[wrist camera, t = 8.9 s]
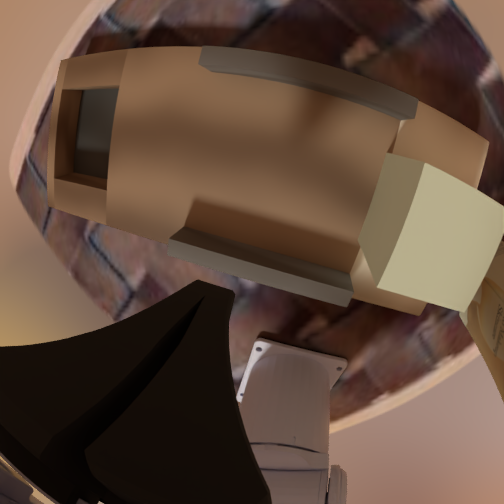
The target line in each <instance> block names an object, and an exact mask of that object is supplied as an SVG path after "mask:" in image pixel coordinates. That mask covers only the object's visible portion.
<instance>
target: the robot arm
mask: <svg viewBox="0 0 504 504" xmlns="http://www.w3.org/2000/svg"><path fill="white" fill-rule="evenodd" d="M234 298H235V293H234V292H233V290H229V289H226V288H223V287H220V286H216V285H213V284H210V283H207V282H204V281H201V280H196V281H194V282H192V283H191V284H189V285H187V286H186V287H184V288H182V289H181V290H179V291H177V292H175V293H174V294H172V295H170V296H169V297H167V298H165V299H163V300H162V301H160V302H158V303H156V304H154V305H153V306H151V307H149V308H147V309H145V310H143V311H141V312H139V313H137V314H135V315H133V316H130V317H128V318H126V319H124V320H122V321H119V322H117V323H114V324H112V325H109V326H106V327H104V328H101V329H98V330H96V331H92V332H88V333H85V334H81V335H78V336H74V337H71V338H67V339H62V340H57V341H52V342H46V343H41V344H33V345H24V346H5V347H0V456H1V457H2V458H3V459H4V460H5V461H6V462H7V463H8V464H9V465H10V466H11V467H12V468H13V469H14V470H15V471H14V470H13V469H12V468H11V467H10V466H8V465H7V464H6V463H4V462H3V461H2V460H1V459H0V504H43V503H42V502H41V501H39V500H38V499H37V498H35V497H34V496H33V495H31V494H32V493H33V488H32V487H31V486H30V485H29V484H28V483H27V482H29V483H30V484H31V485H32V486H33V487H34V488H36V489H37V490H38V491H39V492H41V493H42V494H43V495H44V496H46V497H47V498H48V499H50V500H51V501H52V502H54V503H55V504H98V502H99V501H100V502H102V503H104V504H346V495H347V474H346V472H345V471H344V470H343V469H340V466H339V465H331V473H330V478H329V484H328V492H327V483H328V469H329V468H328V466H329V454H328V446H329V420H330V390H331V388H332V387H333V385H334V384H335V383H336V381H337V380H338V378H339V377H340V375H341V374H342V373H343V371H344V370H345V368H346V367H347V360H346V359H344V358H340V357H335V356H331V355H326V354H322V353H318V352H313V351H309V350H305V349H301V348H297V347H293V346H289V345H286V344H282V343H278V342H274V341H271V340H267V339H264V338H257V339H256V340H255V343H254V346H253V349H252V352H251V355H250V358H249V361H248V364H247V367H246V370H245V373H244V376H243V379H242V382H241V384H240V387H239V390H238V393H237V396H236V393H235V389H234V383H233V377H232V371H231V363H230V352H229V320H230V315H231V311H232V306H233V302H234ZM257 347H260V348H257ZM337 367H340V368H337ZM237 401H238V402H241V405H240V408H239V406H238V403H237ZM17 472H18V473H19V474H20V475H21V476H20V475H19V474H18V473H17ZM26 481H27V482H26Z"/></svg>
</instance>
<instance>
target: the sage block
mask: <svg viewBox="0 0 504 504" xmlns="http://www.w3.org/2000/svg"><path fill="white" fill-rule="evenodd" d="M503 234H504V206H502V205H501V204H499V203H498V202H496V201H494V200H493V199H491V198H490V197H488V196H486V195H485V194H483V193H482V192H480V191H478V190H476V189H475V188H473V187H471V186H470V185H468V184H466V183H464V182H462V181H461V180H459V179H457V178H455V177H453V176H451V175H449V174H447V173H446V172H444V171H442V170H440V169H438V168H436V167H433V166H431V165H429V164H427V163H425V162H422V161H418V160H414V159H411V158H407V157H403V156H399V155H395V154H391V153H386V156H385V160H384V163H383V166H382V170H381V173H380V176H379V180H378V183H377V186H376V189H375V192H374V195H373V198H372V201H371V204H370V207H369V210H368V213H367V216H366V219H365V221H364V224H363V227H362V230H361V232H360V235H359V238H358V242H359V245H360V247H361V249H362V252H363V254H364V256H365V259H366V261H367V264H368V266H369V269H370V271H371V274H372V276H373V279H374V282H375V284H376V287H377V288H380V289H383V290H387V291H390V292H394V293H397V294H401V295H404V296H408V297H411V298H415V299H418V300H422V301H425V302H429V303H432V304H436V305H439V306H443V307H446V308H450V309H453V310H457V311H460V312H465V311H466V309H467V307H468V306H469V304H470V302H471V301H472V299H473V297H474V295H475V293H476V292H477V290H478V288H479V286H480V284H481V282H482V280H483V278H484V276H485V274H486V272H487V270H488V268H489V266H490V264H491V262H492V260H493V258H494V255H495V253H496V251H497V248H498V246H499V244H500V241H501V239H502V236H503Z"/></svg>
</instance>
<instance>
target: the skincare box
mask: <svg viewBox="0 0 504 504" xmlns="http://www.w3.org/2000/svg"><path fill="white" fill-rule="evenodd" d="M460 318H461V319H462V321H463V323H464V324H465V326H466V328H467V329H468V331H469V333H470V334H471V336H472V338H473V340H474V341H475V343H476V345H477V347H478V349H479V351H480V353H481V355H482V356H483V358H484V360H485V362H486V364H487V366H488V368H489V370H490V372H491V374H492V377H493V379H494V381H495V383H496V385H497V388H498V390H499V392H500V394H501V397H502V400H503V402H504V242H503V241H502V240H501V241H500V244H499V246H498V248H497V251H496V253H495V255H494V258H493V260H492V262H491V264H490V266H489V268H488V270H487V272H486V274H485V276H484V278H483V280H482V282H481V284H480V286H479V288H478V290H477V292H476V293H475V295H474V297H473V299H472V301H471V302H470V304H469V306H468V307H467V309H466V311H465V312H460Z"/></svg>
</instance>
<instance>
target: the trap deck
mask: <svg viewBox="0 0 504 504" xmlns="http://www.w3.org/2000/svg"><path fill="white" fill-rule="evenodd" d="M488 145H489V142H488V141H487V140H486V139H484V138H483V137H481V136H480V135H478V134H477V133H475V132H474V131H472V130H470V129H469V128H467V127H466V126H464V125H462V124H461V123H459V122H457V121H456V120H454V119H452V118H450V117H449V116H447V115H445V114H443V113H442V112H440V111H438V110H436V109H434V108H432V107H430V106H428V105H426V104H424V103H422V102H420V101H419V99H417V98H415V97H413V96H411V95H409V94H406V93H404V92H402V91H400V90H397V89H395V88H393V87H390V86H388V85H385V84H383V83H380V82H378V81H375V80H372V79H370V78H367V77H364V76H361V75H358V74H355V73H352V72H349V71H346V70H343V69H339V68H336V67H332V66H329V65H325V64H322V63H318V62H314V61H310V60H305V59H301V58H296V57H292V56H287V55H282V54H276V53H270V52H264V51H257V50H250V49H241V48H232V47H220V46H203V47H187V46H172V47H146V48H133V49H123V50H114V51H107V52H100V53H94V54H88V55H83V56H78V57H73V58H69V59H65V60H61V63H60V67H59V71H58V76H57V81H56V86H55V92H54V98H53V105H52V112H51V120H50V130H49V143H48V164H47V193H48V206H49V207H52V208H55V209H58V210H61V211H64V212H67V213H70V214H73V215H76V216H79V217H82V218H86V219H89V220H92V221H95V222H98V223H101V224H104V225H107V226H110V227H113V228H117V229H120V230H123V231H126V232H129V233H132V234H135V235H139V236H142V237H145V238H148V239H151V240H155V241H158V242H161V243H164V244H168V252H167V255H169V256H172V257H175V258H178V259H181V260H185V261H188V262H191V263H194V264H197V265H201V266H204V267H207V268H210V269H214V270H217V271H220V272H223V273H227V274H230V275H233V276H237V277H240V278H243V279H247V280H250V281H254V282H257V283H260V284H264V285H267V286H271V287H274V288H278V289H281V290H285V291H288V292H292V293H295V294H299V295H303V296H306V297H310V298H313V299H317V300H321V301H324V302H328V303H332V304H336V305H339V306H343V307H347V306H348V304H349V302H350V300H351V298H354V299H357V300H361V301H365V302H368V303H372V304H376V305H380V306H383V307H387V308H391V309H395V310H399V311H402V312H406V313H410V314H414V315H418V316H420V314H421V313H422V311H423V309H424V308H425V306H426V304H427V302H425V301H422V300H418V299H415V298H411V297H408V296H404V295H401V294H397V293H394V292H390V291H387V290H383V289H380V288H377V287H376V284H375V282H374V279H373V276H372V274H371V271H370V269H369V266H368V264H367V261H366V259H365V256H364V254H363V252H362V249H361V247H360V245H359V242H358V238H359V235H360V232H361V230H362V227H363V224H364V221H365V219H366V216H367V213H368V210H369V207H370V204H371V201H372V198H373V195H374V192H375V189H376V186H377V183H378V180H379V176H380V173H381V170H382V166H383V163H384V160H385V156H386V153H391V154H395V155H399V156H403V157H407V158H411V159H414V160H418V161H422V162H425V163H427V164H429V165H431V166H433V167H436V168H438V169H440V170H442V171H444V172H446V173H447V174H449V175H451V176H453V177H455V178H457V179H459V180H461V181H462V182H464V183H466V184H468V185H470V186H471V187H473V188H475V189H476V190H477V187H478V184H479V181H480V177H481V174H482V170H483V166H484V162H485V158H486V154H487V150H488Z"/></svg>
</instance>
